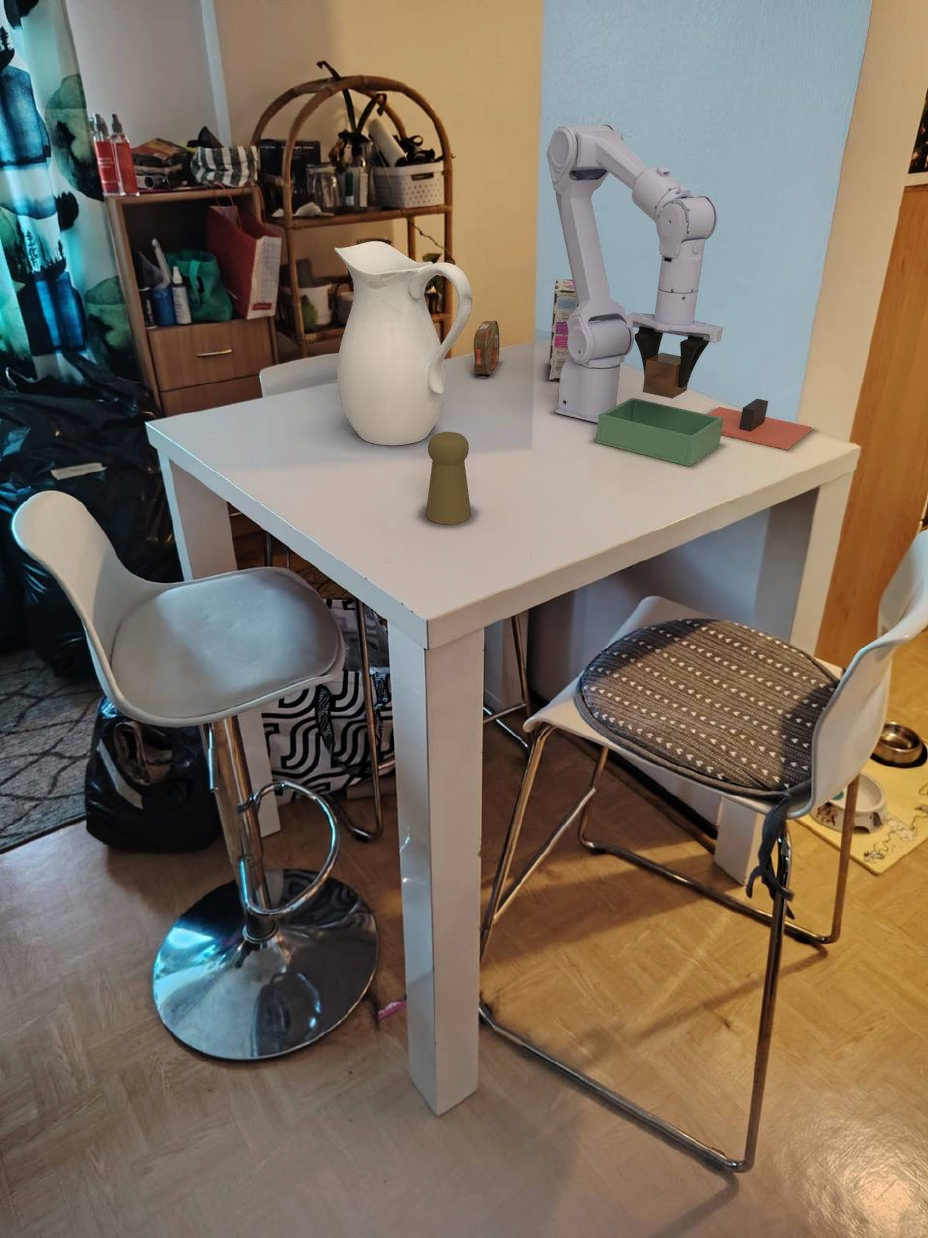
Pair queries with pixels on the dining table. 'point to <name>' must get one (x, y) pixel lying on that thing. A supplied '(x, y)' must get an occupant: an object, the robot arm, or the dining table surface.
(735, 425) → the lunchbox lid
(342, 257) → the pitcher
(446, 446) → the olive pawn figure
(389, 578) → the dining table surface
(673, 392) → the walnut block
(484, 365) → the tin
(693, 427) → the box
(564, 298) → the candy bar box
